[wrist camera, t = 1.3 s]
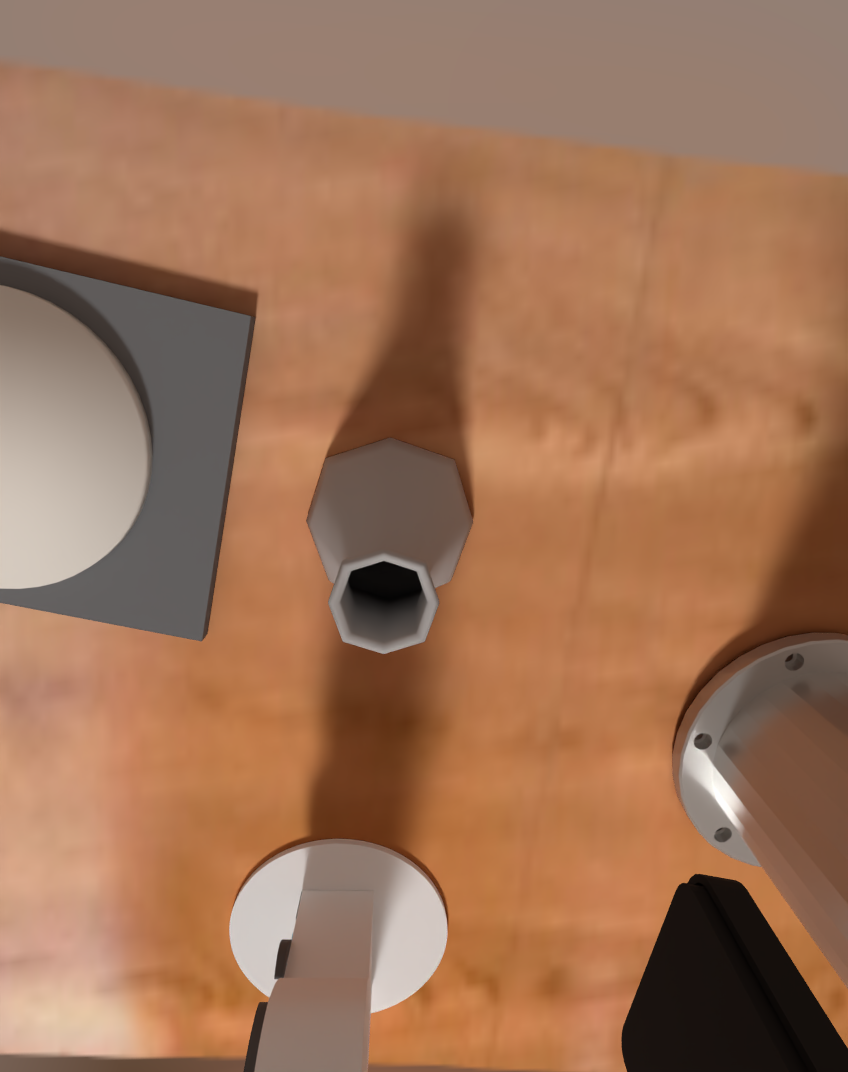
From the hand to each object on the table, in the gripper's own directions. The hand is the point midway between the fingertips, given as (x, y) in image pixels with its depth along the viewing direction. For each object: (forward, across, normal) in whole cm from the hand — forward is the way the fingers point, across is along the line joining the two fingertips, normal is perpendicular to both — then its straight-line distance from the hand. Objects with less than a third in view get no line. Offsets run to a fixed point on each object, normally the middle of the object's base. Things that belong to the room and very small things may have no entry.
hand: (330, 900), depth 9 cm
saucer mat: (+20, +16, 0) cm, 26 cm away
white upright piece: (+21, -2, +22) cm, 30 cm away
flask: (+20, 0, 0) cm, 21 cm away
